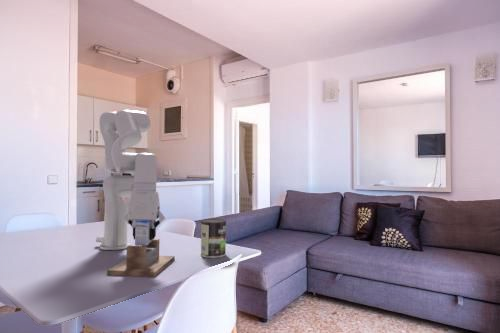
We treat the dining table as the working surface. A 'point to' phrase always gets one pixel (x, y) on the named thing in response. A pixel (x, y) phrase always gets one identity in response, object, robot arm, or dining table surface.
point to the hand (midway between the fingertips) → (144, 238)
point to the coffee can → (213, 238)
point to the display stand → (142, 261)
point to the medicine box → (142, 232)
